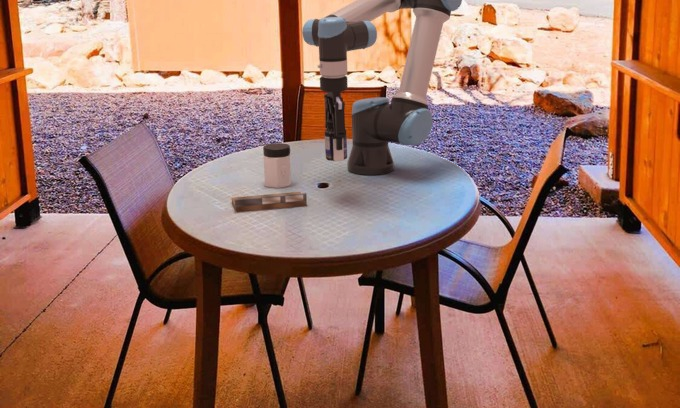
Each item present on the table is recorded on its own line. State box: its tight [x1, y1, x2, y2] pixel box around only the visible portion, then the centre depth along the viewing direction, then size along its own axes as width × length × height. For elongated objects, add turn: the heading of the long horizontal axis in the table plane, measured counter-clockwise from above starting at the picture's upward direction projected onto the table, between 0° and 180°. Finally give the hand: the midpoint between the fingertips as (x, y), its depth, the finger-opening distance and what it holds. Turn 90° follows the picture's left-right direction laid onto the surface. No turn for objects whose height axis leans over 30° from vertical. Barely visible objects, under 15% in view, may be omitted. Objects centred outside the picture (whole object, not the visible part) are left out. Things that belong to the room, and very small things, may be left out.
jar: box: [262, 142, 292, 189], centre depth 239 cm, size 9×8×12 cm
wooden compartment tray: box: [231, 191, 308, 213], centre depth 221 cm, size 20×9×4 cm, turn 104°
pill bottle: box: [324, 119, 348, 162], centre depth 219 cm, size 6×6×11 cm
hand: (335, 157), depth 221 cm, fingers closed on pill bottle, 6 cm apart
